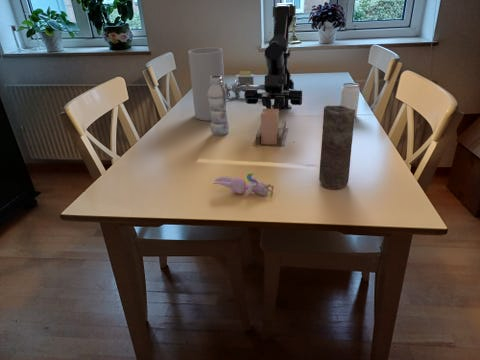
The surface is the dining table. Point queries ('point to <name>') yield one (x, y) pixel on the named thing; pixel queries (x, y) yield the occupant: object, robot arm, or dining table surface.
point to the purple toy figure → (244, 185)
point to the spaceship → (241, 88)
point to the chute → (280, 139)
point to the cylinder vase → (204, 77)
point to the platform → (245, 77)
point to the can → (350, 96)
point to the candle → (336, 146)
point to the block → (269, 126)
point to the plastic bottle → (218, 107)
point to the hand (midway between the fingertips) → (271, 120)
